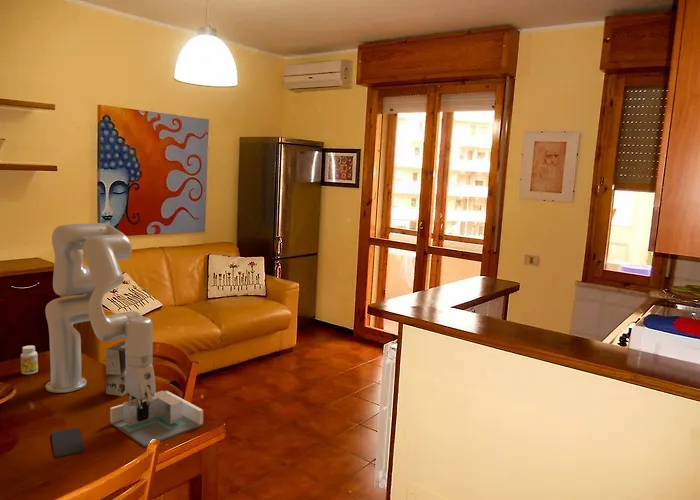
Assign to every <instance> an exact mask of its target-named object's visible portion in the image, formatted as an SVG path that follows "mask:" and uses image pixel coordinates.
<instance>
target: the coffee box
mask: <svg viewBox="0 0 700 500" xmlns="http://www.w3.org/2000/svg"><path fill="white" fill-rule="evenodd" d="M105 351H106V352H105V355H106V357H105V361H106V362H105V373H106V374H105V378H106V380H105V381H106V383H105V385H106V386H105V387H106V388H105V389H106V390H105V395H112V396H118V397H123V396H125V395H126V394H128V393H127V392H126V390H125V370H126V365H125V341H119V342H117V343H116V344H114V345H112V346H109V347H107V348H106V349H105Z"/></svg>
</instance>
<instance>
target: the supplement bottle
mask: <svg viewBox="0 0 700 500" xmlns="http://www.w3.org/2000/svg"><path fill="white" fill-rule="evenodd" d="M21 349H22V350H21V351H22V353H21V354H20V373H21V374H23V375H32V374H33V375H34V374H35V373H38V372H39V361H38V360H39V359H38V358H39V357H38V352H37V351H36V346H35V345H31V344H30V345H26V346H22V348H21Z"/></svg>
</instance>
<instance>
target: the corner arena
mask: <svg viewBox="0 0 700 500" xmlns="http://www.w3.org/2000/svg"><path fill="white" fill-rule="evenodd" d="M164 391H165V392H166V393H168V394H170V395H172V396H174V397H176V398H177V399H179V400H181V401H182V420H181V421H178V422H175V423H173V424H169V423H168V422H166V421H164V420H163V419H161V418H159V417H155V418H152V419H149V420H146V421H143V422H140V423H137V424H134V425H132V426H129V425H127V424H126V423H124V422H123V403H122V404H118V405H116V406H112V407H110V408H109V411H110V412H109V419H110V420H109V421H110V425H112V426H113V427H114V428H116V429H117V430H119V431H121V432H122V433H124V434H125V435H126V436H128V437H129V438H131V439H132V440H134V441H135V442H136V443H138V444H140V445H141V446H142V447H144V448H147V447H148V446H147V445H148V443H149V442H150V441H151V440H152V439H159V440H160V442H162V441H165V440H167V439H170V438H173V437H176V436H178V435H182V434H185V433H187V432H189V431H191V430H194V429H197V428H199V427H202V426H203V425H204V409H202V408H201V407H199V406H196V405H195V404H193V403H191V402H189V401H187V400H185V399H183V398H182V397H180V396H178V395H176V394H174V393H172V392H170V391H169V390H164Z"/></svg>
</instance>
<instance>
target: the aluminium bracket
mask: <svg viewBox="0 0 700 500" xmlns="http://www.w3.org/2000/svg"><path fill="white" fill-rule="evenodd" d="M165 391H166V390H160V391H157V392H156V391H155V396H153V397H152V398H153V403H151V404H150V406H149V418H148V419H146V420H149V419H152V418H155V417H159V418H161V419H163V420H164V421H166V422H168V423H169V424H173V423H175V422H178V421H181V420H182V401H181V400H179V399H177V398H176V397H174V396H172V395H170V394H168V393H166V392H165ZM143 397H145V395H144V396H143ZM144 401H146V400H142V403H143V402H144ZM122 404H123V422H124V423H126V424H127V425H129V426H132V425H134V424H137V423H140V422H143V421H146V420H143V421H140V422H139V421H138V408H139V402H138V399H137V398H136V399H133V400H129V399H128V400H127V401H123V402H122Z"/></svg>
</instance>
